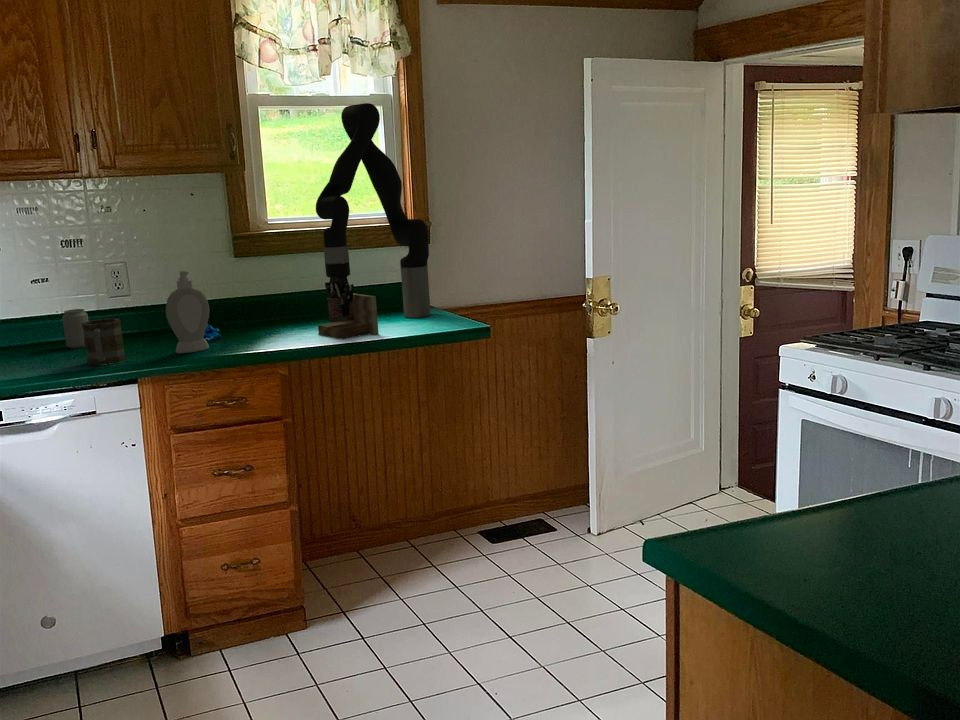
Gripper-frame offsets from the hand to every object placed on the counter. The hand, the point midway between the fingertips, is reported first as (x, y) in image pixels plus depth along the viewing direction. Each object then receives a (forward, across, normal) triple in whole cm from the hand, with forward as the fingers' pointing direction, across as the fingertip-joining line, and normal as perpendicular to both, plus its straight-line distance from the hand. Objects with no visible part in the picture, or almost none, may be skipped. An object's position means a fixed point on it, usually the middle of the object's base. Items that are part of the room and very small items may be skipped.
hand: (341, 315), depth 294 cm
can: (+6, -57, -64) cm, 86 cm away
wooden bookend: (+6, 0, +1) cm, 6 cm away
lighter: (+2, 0, 0) cm, 2 cm away
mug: (+6, -21, -68) cm, 71 cm away
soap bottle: (+6, -16, -43) cm, 46 cm away
